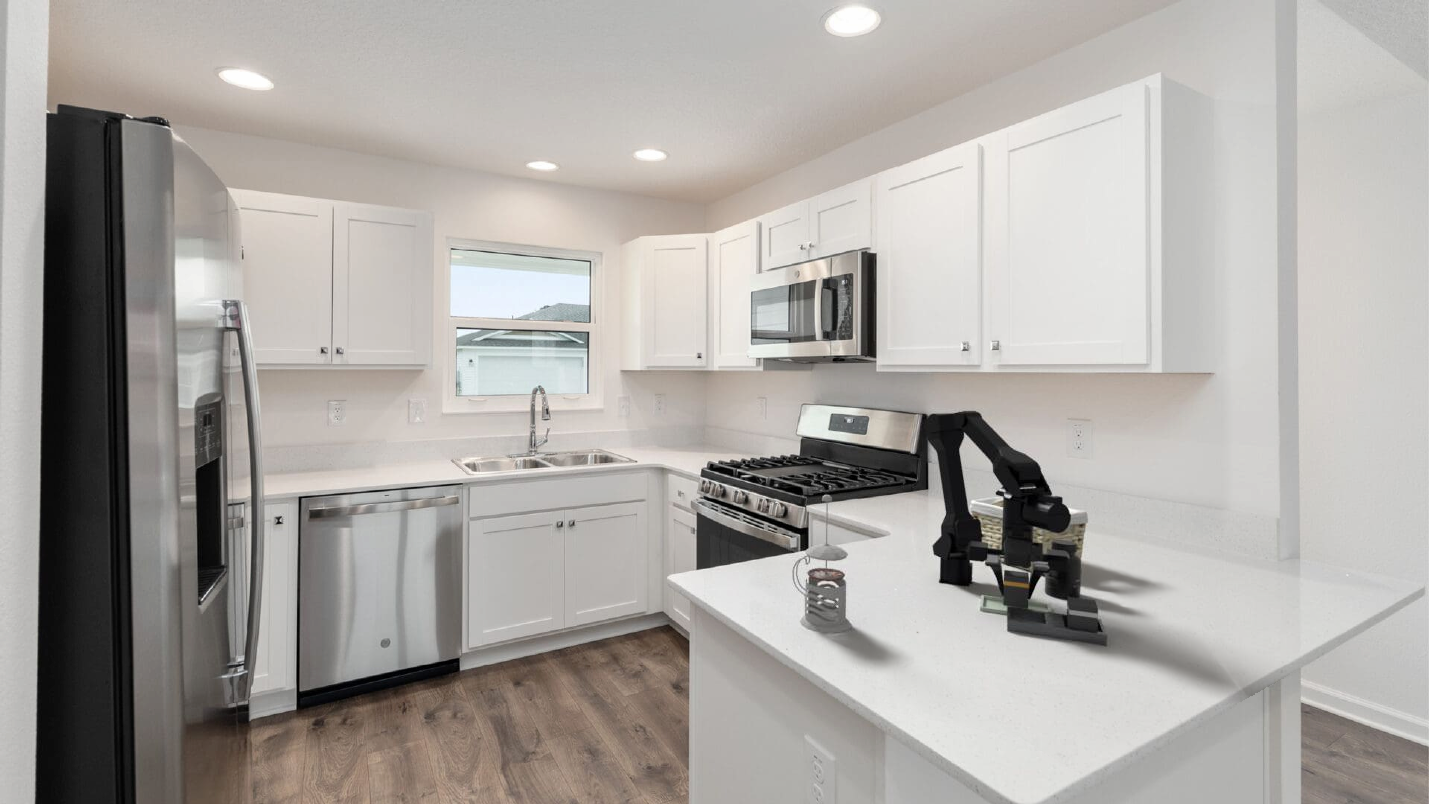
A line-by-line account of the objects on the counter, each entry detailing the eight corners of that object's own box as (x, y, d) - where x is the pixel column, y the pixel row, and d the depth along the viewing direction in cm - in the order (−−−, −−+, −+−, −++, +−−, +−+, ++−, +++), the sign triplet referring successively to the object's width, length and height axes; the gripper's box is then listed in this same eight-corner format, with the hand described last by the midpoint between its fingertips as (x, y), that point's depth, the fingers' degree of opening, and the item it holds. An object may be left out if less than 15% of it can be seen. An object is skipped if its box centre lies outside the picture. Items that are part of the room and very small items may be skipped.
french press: (840, 637, 120) (842, 501, 118) (782, 623, 126) (784, 495, 125) (858, 619, 128) (860, 493, 127) (803, 608, 134) (805, 487, 133)
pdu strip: (1007, 633, 122) (1007, 620, 122) (1006, 618, 129) (1007, 606, 129) (1106, 648, 115) (1106, 635, 115) (1100, 632, 123) (1100, 619, 122)
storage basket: (965, 553, 176) (967, 498, 175) (1008, 546, 183) (1010, 494, 182) (1043, 579, 154) (1045, 517, 154) (1089, 570, 161) (1091, 511, 160)
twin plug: (1068, 636, 119) (1069, 604, 119) (1066, 627, 123) (1067, 596, 123) (1097, 641, 117) (1098, 608, 117) (1094, 631, 122) (1095, 600, 121)
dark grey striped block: (1003, 605, 132) (1003, 576, 131) (1003, 598, 136) (1004, 569, 136) (1028, 608, 130) (1029, 579, 130) (1027, 601, 134) (1028, 572, 134)
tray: (979, 613, 132) (980, 607, 132) (981, 600, 139) (981, 594, 139) (1052, 623, 127) (1052, 617, 127) (1049, 609, 134) (1049, 604, 134)
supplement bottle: (1085, 603, 138) (1087, 547, 137) (1050, 600, 139) (1051, 545, 139) (1074, 592, 145) (1075, 539, 144) (1040, 590, 146) (1042, 537, 145)
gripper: (966, 525, 128) (964, 603, 129) (1074, 535, 121) (1071, 618, 122) (969, 513, 139) (967, 586, 139) (1069, 522, 131) (1066, 599, 132)
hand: (1015, 597), depth 133 cm, fingers closed on dark grey striped block, 4 cm apart
